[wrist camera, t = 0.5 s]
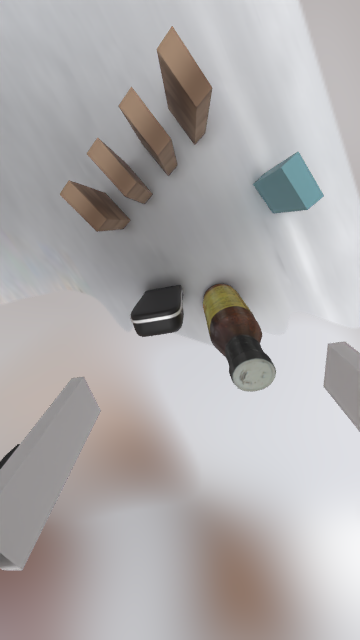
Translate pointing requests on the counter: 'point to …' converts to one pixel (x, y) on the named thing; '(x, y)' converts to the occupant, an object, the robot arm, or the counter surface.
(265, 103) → the counter surface
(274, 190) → the domino
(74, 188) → the domino
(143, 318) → the battery charger
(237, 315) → the sauce bottle
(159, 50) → the domino
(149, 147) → the domino
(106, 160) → the domino
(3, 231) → the counter surface
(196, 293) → the counter surface
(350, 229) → the counter surface
